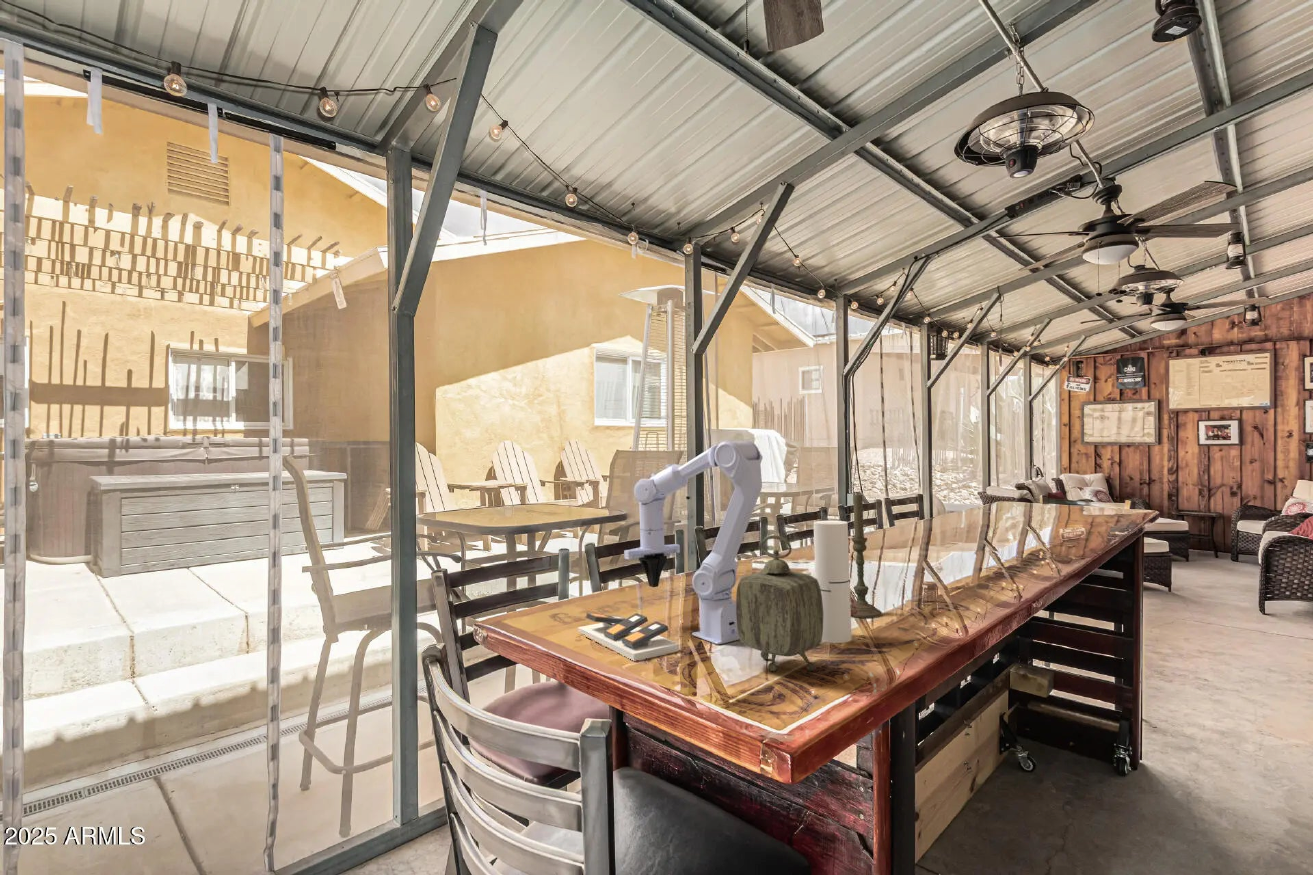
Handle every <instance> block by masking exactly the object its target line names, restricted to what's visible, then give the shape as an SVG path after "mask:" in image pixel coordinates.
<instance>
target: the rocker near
mask: <svg viewBox="0 0 1313 875" xmlns="http://www.w3.org/2000/svg"><path fill="white" fill-rule="evenodd" d="M641 628H642V629H640V630H638V631H636V632H634V633H632V634H630V635H628V636H626V637H624V638H622V639H621V640H622V644H625V645H627V646H629V647H631V648H635V647H637V646H639V645H641V644H643V643H645V642H647V641H649V640H650V639H652V638H654V637H656V636H658V635H659V636H661V635H662V634H664V633H666V632H667V631H669V627H668V625H667V624H664V623H661V622H659V621H653V622H652V623H651V624H649V625H645V626H644V627H641Z"/></svg>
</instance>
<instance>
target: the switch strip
mask: <svg viewBox="0 0 1313 875" xmlns="http://www.w3.org/2000/svg"><path fill="white" fill-rule="evenodd" d="M614 625H616V624H614V623H603V622H598V623H594V624H589V625H583V626H578V627H577V633H578V632H581V633H582V634H585V635H586V636H589V637H590V638H591V639H594V640H595V641H597V642H599V643H602V644H603V645H605V646H607V647H609V648H611V649H613V650H615V651H616V652H618V653H620V654H622V655H623V656H622V657H624V656H626V657H627V658H626V657H625V658H626V659H628V658H629V659H628V660H630V659H631V660H630V661H632V660H633V661H632V662H634V661H635V660H639V661H643V660H646V658H647V659H652V658H656V657H659V656H660V657H661V656H664V655H669V654H672V653H677V652H680V643H679V642H676V641H673V640H671V639H668V638H665V637H663V636H661V635H658V636H656V637H654V638H652V639H650V640H649V641H647V642H645V643H643V644H641V645H639V646H637V647H635V648H631V647H629V646H627V645H625V644H622V640H621V639H622V638H624V637H626V636H628V635H630V634H632V633H634V632H636V631H638V630H640V629H642V628H643V627H640V626H639V627H637V628H635V629H634V630H632V631H630V632H628V633H627V634H625V635H623V636H621V637H620V638H618V639H616V640H615V641H614V640H612V639H610V638H608V637H605V636H604V633H603V632H604V631H606V630H607V629H609V628H611V627H613V626H614ZM635 662H636V661H635Z"/></svg>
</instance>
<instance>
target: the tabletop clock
mask: <svg viewBox="0 0 1313 875" xmlns="http://www.w3.org/2000/svg"><path fill="white" fill-rule="evenodd" d="M773 539H774V540H780V541H782V542H784V543H785V544H786V545H787V546H788V551H787V552H786V553H783V554H780V552H779V550H777V549H774V550H773V553H772V552H771V553H770V552H768V551H767V550H766V549H765V548H764V544H765V543H766V542H767V541H768V540H773ZM761 540H762V541H761V542H760V548H761V551H762V552H763V553H764V555H766V556H768V557H771V558H773V559H770V560H767V562H766V563H765V564H764V566H763V570H762V571H759V572H756V573H755V572H754V573H752V574H747V575H744V576H742V577H740V579H739V582H738V585H737V587H736V596H735V597H736V598H735V602H736V616H737V629H738V634H739V638H740V639H739V641H740V642H741V643H742V644H744V645H745V646H747V647H749V648H752V649H754V650H757V651H760V657H761V658H762V659H764V660H767V659H768V658H769V656H770V655H771V662H770V663H768V665H767V666H768V667H767V668H768V670H769V672H772V673H773V672H776V671H777V668H778V667H777V666H778V665H777V664H776V663H775V662H776V657H777V656H780V657H785V658H786V657H787V658H788V657H794V656H798V655H799V656H800V657H801V659H803V660H804V661H805V663H806V669H807V670H808V671H810V672H813V671H815V670H816V664H815V663H814V662H813V661H810V660H809V658H808V656H807V655H806V653H805V652H807V651H810V650H812V649H815V648H817V647H820V644H821V642H822V641H821V640H822V634H823V616H824V613H823V603H822V594H821V589H820V586H819V583H818V581H817V579H816V578H815V577H814V576H813V575H810V574H808V573H805V572H801V571H795V570H792V569H791V568H790V566H789V564H788V563H787V562H786V561H785V560H784V558H786V557H789V556H790V555H791V553H792V546H791V543H790V541H789V540H788V539H787V538H785V537H784V536H781V535H775V534H774V535H773V534H772V535H767V536H765V537H764V538H763V539H761Z"/></svg>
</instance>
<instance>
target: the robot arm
mask: <svg viewBox="0 0 1313 875" xmlns="http://www.w3.org/2000/svg"><path fill="white" fill-rule="evenodd" d="M763 458H764V457H763V455H762V453H761V451H760V450H759V447H758V446H757V445H756V443H754V442H753V441H751V440H742V441H740V440H739V441H734V440H733V441H732V440H724V441H721V442H720V443H719V444H714V445H712V446H711V447H710V448H708V449H707V450H705V451H703V452H701V453H700V454H699V455H697V456H695V457H694V458H692V459H690V460H689V461H687V462H686V463H684V464H682V465H680V464H678V463H674V464H673V463H669V464H667V465H665V469H663V470H662V471H659V472H658V473H656V472H655V473H652V474H651V475H650V476H651V477H650V478H640V479H639V481H637V482H635V485H634V488H633V495H634V498H635V500H636V501H637V502H638V505H639V506H638V507H639V509H638V511H639V535H640V536H639V540H640V542H639V543H640V546H639V547H636V548H631V549H625V550H623V551H624V552H623V554H624V556H623V557H624V559H625V560H628V561H629V560H633V559H638V562H640V564H641V566H642V568H643V570H644V573H645V575H646V576H645V577H646V580H647V582H648V583H647V584H648V586H649V587H651V588H657V587H659V584H660V579H661V575H662V571H663V569H664V566H665V565H666V562H667V561H668V556H667V555H669V554H680V552H681V547H680V546H681V545H680V544H676V543H674V544H665V527H664V526H665V524H664V523H665V522H664V518H665V517H664V507H665V501H666V499H667V497H668V496H670V495H671V494H673V493H675V492H678V491H679V490H680V489H683V488H685V487H686V486H687V485H688V482H689V479H690V478H692V477H695V476H697V475H699V474H700V473H701V474H702V473H703V472H705V471H707V470H709V469H711V468H714V467H718V468H719V469H720V470H721V471H722V472H723V473H724V475H726V476H727V478H728V480H730V481H731V483H732V485H733V488H734V490H733V493H732V495H731V497H730V500H729V504H728V505H727V506H728V507H727V508H726V511H725V515H724V517H723V518H722V519H723V520H722V523H721V525H720V527H719V530H718V533H717V536H716V539H715V542H714V543H713V546H712V550H711V552H710V553H709V555H707V556H706V557H705V559H704V560H703V561H702V562H701V566H700V567H699V568H698V569H697V570H696V571H695V572H694V573H693V576H692V580H691V584H692V588H693V591H694V592H695V593H696V595H697V598H698V604H699V606H698V607H699V610H698V611H699V631H695V632H692V634H691V636H695V637H696V638H699V639H702V640H705V641H706V642H710V643H713V644H714V645H722V644H727V643H729V642H730V643H731V642H735V641H737V640H738V641H740V638H739V634H738V629H737V616H736V600H734V599H733V597H732V594H733V589H734V587H735V586H736V584H737V577H738V576H737V570H738V568H739V564H738V562H737V561H736V557H737V554H738V552H739V549H740V547H741V544H742V541H743V539H744V536H745V534H746V531H747V528H748V525H749V523H750V520H751V518H752V516H753V514H754V510H755V508H756V505H757V502H758V500H759V496H760V494H761V491H762V488H763V481H762V480H763V479H762V467H761V464H762V461H763Z"/></svg>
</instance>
